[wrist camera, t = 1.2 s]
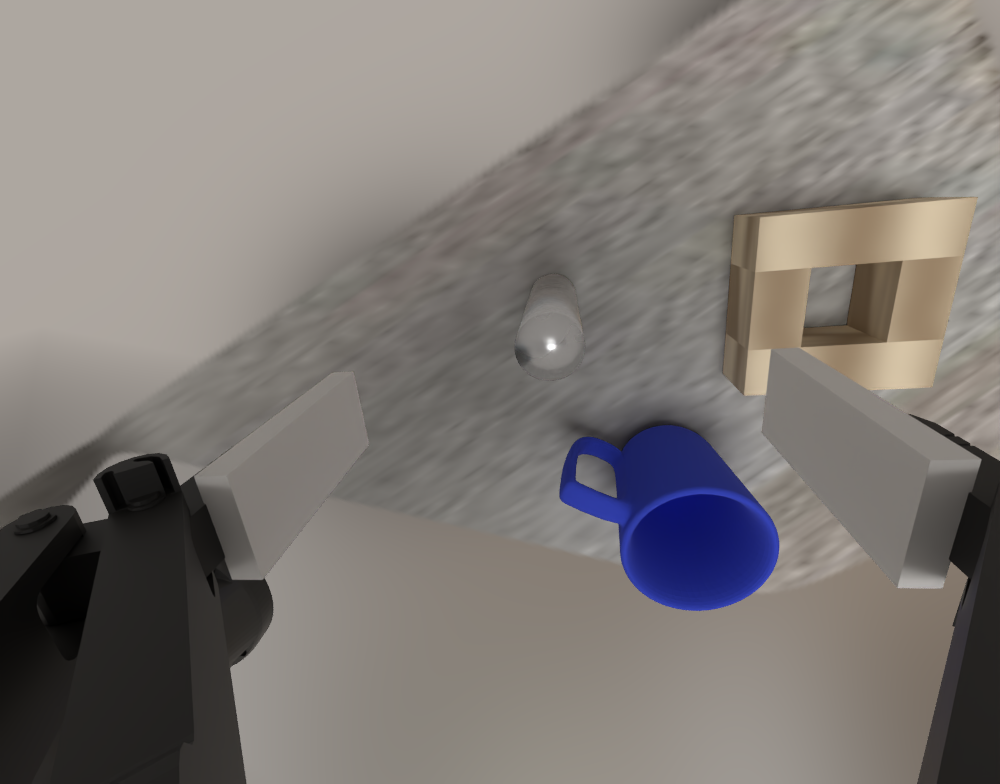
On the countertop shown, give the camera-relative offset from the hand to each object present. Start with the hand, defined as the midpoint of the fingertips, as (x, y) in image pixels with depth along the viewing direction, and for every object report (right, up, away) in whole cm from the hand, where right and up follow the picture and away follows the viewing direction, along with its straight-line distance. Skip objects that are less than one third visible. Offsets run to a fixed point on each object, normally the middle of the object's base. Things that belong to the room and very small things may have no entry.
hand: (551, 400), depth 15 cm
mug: (+8, -4, +20) cm, 22 cm away
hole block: (+18, +6, +14) cm, 24 cm away
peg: (+2, +7, +16) cm, 18 cm away
